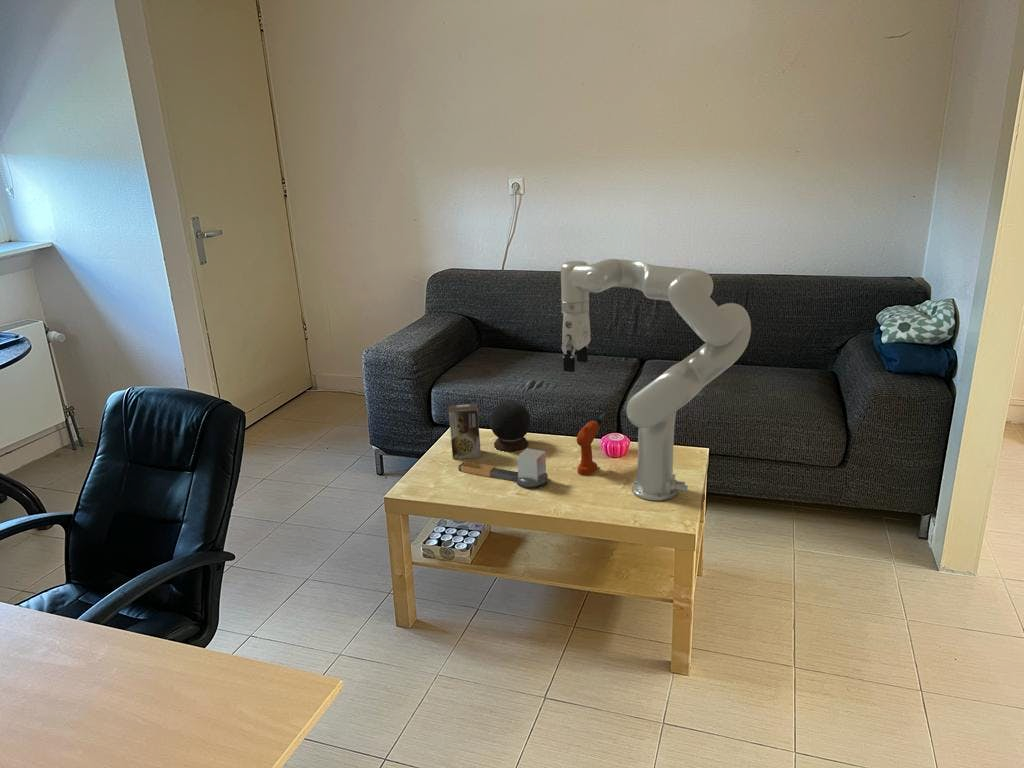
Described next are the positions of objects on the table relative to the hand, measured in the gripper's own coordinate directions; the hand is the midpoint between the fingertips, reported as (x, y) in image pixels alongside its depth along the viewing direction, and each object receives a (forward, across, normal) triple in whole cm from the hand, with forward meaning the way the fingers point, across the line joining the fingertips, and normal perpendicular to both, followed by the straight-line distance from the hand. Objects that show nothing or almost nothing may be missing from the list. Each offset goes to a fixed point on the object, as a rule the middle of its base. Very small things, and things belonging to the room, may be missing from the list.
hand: (575, 366), depth 205 cm
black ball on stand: (+34, +12, +28) cm, 45 cm away
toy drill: (+34, +8, -2) cm, 34 cm away
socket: (+31, -10, +10) cm, 34 cm away
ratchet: (+33, -10, +20) cm, 40 cm away
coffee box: (+34, 0, +38) cm, 51 cm away
